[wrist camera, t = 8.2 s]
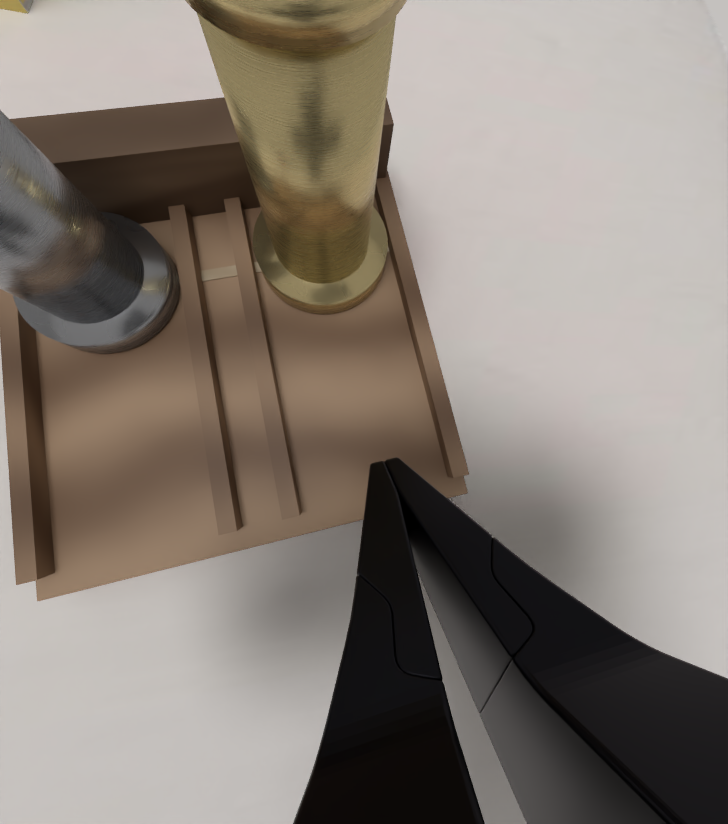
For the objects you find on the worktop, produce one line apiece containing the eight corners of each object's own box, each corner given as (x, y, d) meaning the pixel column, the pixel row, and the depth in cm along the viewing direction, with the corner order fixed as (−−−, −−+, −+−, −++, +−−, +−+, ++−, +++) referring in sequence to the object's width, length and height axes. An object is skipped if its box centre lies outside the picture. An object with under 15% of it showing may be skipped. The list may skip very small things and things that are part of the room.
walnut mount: (456, 490, 17) (504, 503, 12) (68, 586, 15) (-73, 652, 10) (374, 177, 19) (385, 81, 14) (37, 223, 17) (-86, 128, 12)
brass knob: (397, 302, 16) (499, 7, 6) (271, 324, 16) (119, 37, 5) (369, 193, 17) (412, -236, 7) (249, 210, 17) (80, -241, 6)
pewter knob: (188, 339, 15) (-6, 190, 7) (43, 365, 15) (-378, 235, 6) (170, 221, 16) (-22, -42, 8) (32, 240, 15) (-346, -26, 7)
